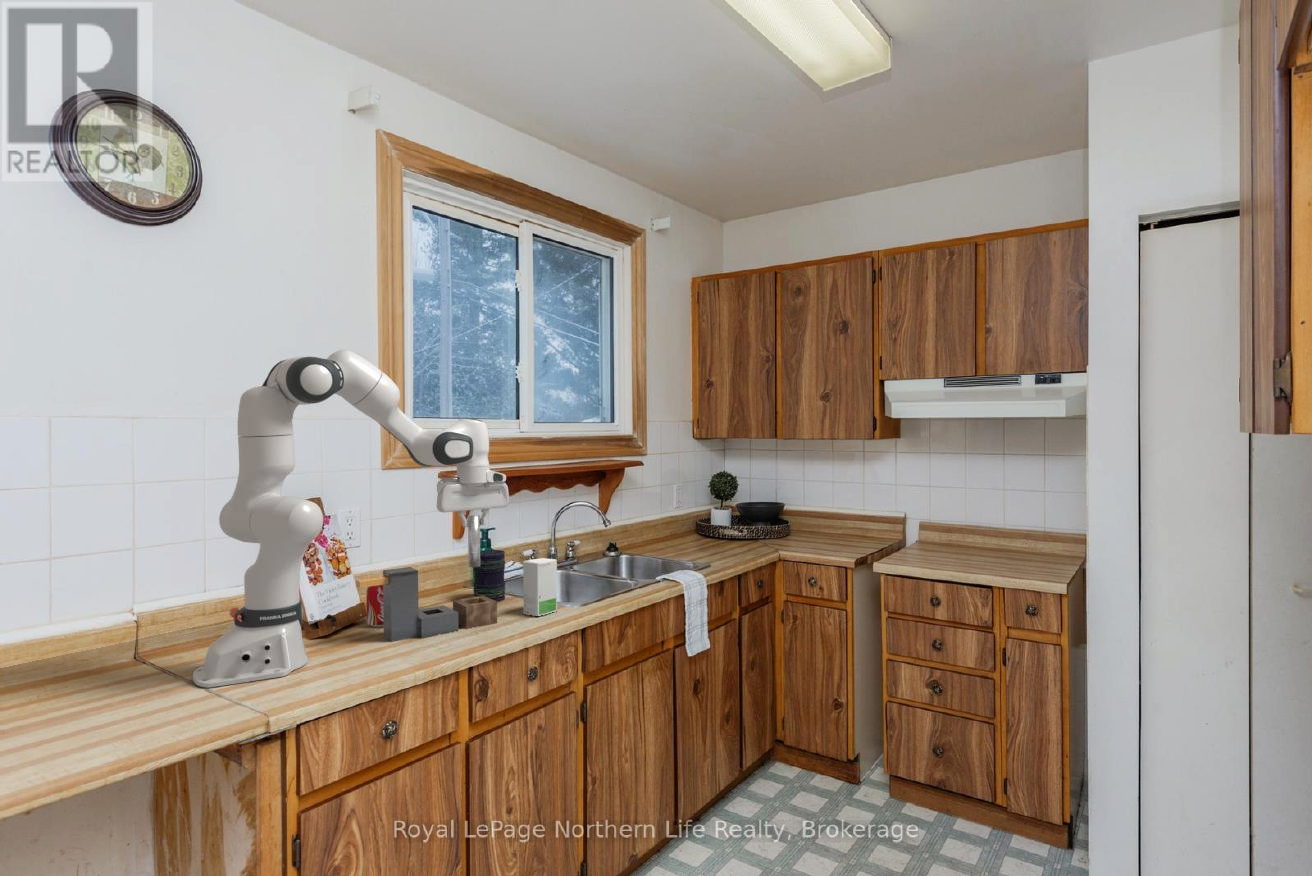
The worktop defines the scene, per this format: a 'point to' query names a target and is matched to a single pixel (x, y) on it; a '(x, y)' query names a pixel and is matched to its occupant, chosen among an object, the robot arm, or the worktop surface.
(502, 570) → the storage jar
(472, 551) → the silver metal rod
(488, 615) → the brown wooden square holder
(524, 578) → the skincare box
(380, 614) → the soda can
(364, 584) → the bar
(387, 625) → the socket block
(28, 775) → the worktop surface
